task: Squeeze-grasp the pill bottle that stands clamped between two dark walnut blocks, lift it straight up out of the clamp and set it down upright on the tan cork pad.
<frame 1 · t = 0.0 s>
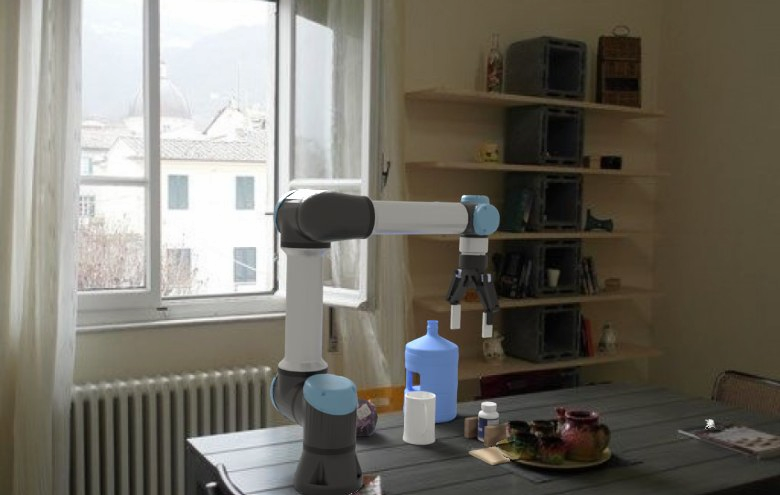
hand: (470, 332, 204), 28 cm above the table, fingers open, 13 cm apart
cork pad: (494, 456, 190), on the table
mug: (420, 442, 199), on the table
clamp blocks: (487, 439, 203), on the table
pill bottle: (487, 440, 203), on the table
water jug: (429, 416, 223), on the table
power adapter: (705, 431, 218), on the table
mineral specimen: (358, 434, 204), on the table
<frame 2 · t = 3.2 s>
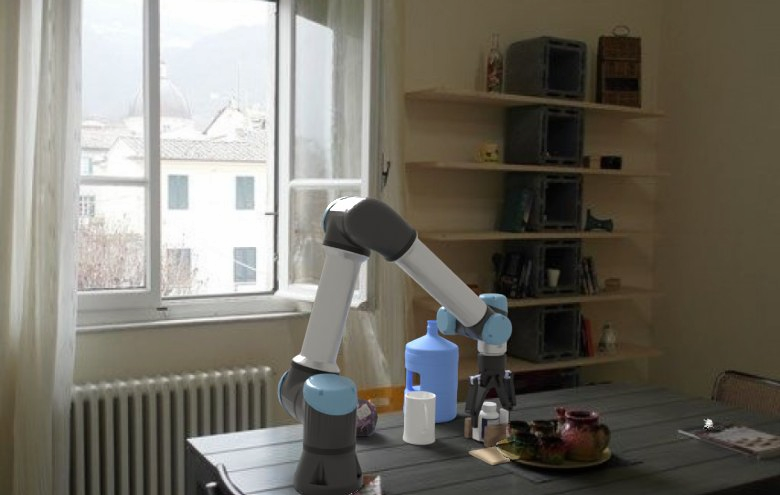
hand: (490, 436, 203), 1 cm above the table, fingers open, 8 cm apart
nothing on the table moved.
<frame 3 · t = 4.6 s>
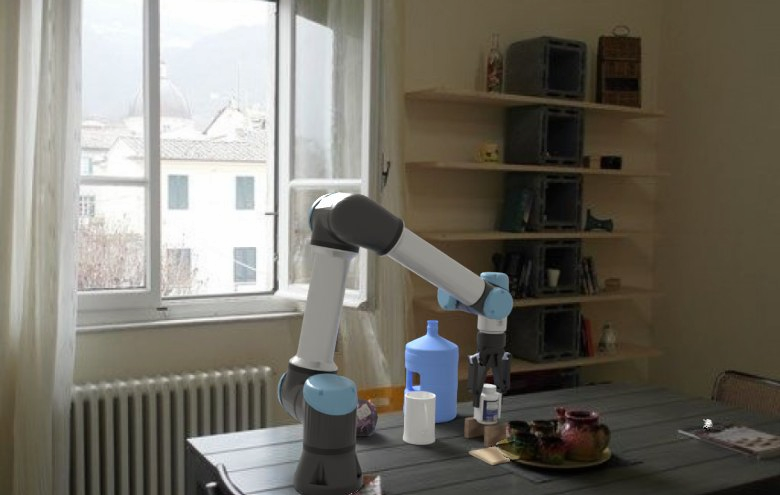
hand: (487, 417, 202), 6 cm above the table, fingers closed on pill bottle, 5 cm apart
pill bottle: (486, 422, 202), point 5 cm above the table, touching gripper
everything else where it was.
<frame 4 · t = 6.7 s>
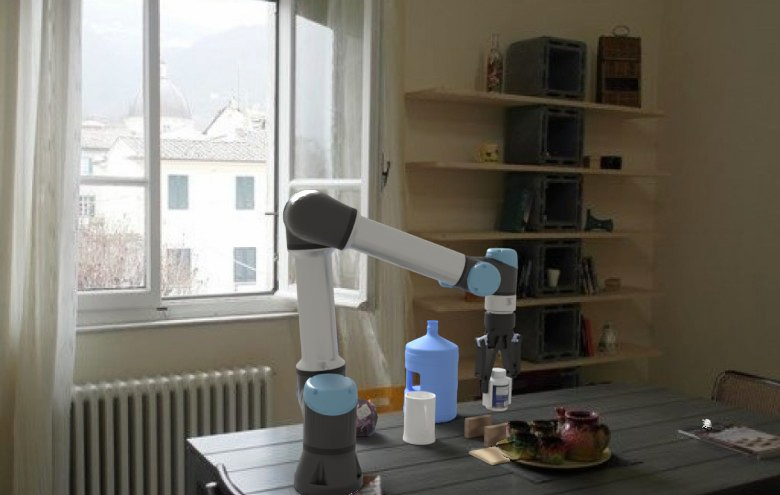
hand: (496, 404, 189), 13 cm above the table, fingers closed on pill bottle, 5 cm apart
pill bottle: (496, 409, 189), point 12 cm above the table, touching gripper
everything else where it was.
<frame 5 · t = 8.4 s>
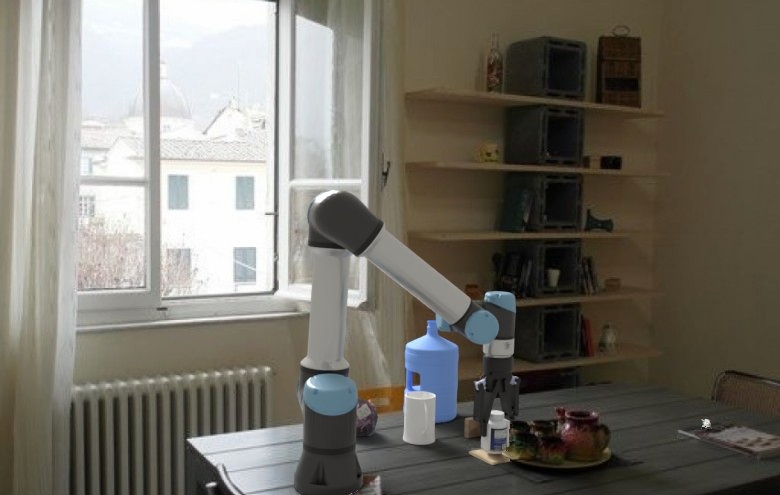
hand: (494, 446, 189), 2 cm above the table, fingers closed on pill bottle, 5 cm apart
pill bottle: (494, 451, 189), point 1 cm above the table, touching gripper
when the fingers open (2 cm above the table, at t = 9.3 s): pill bottle stays where it is, resting on cork pad.
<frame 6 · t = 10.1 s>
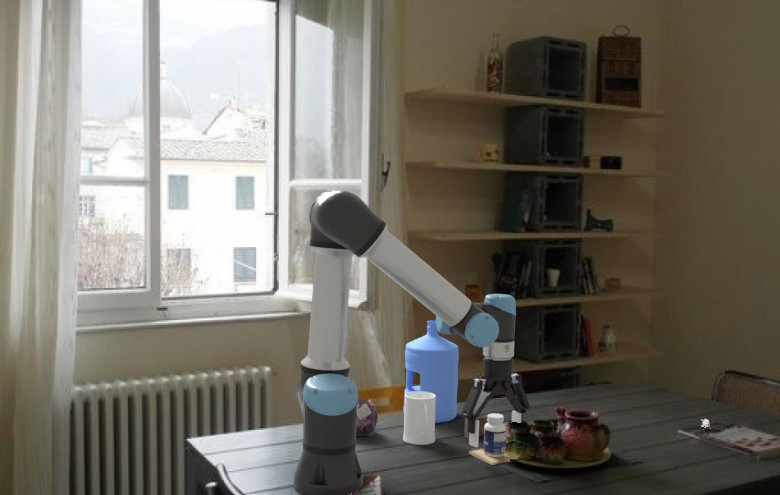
hand: (495, 441, 189), 4 cm above the table, fingers open, 13 cm apart
pill bottle: (494, 454, 190), resting on cork pad
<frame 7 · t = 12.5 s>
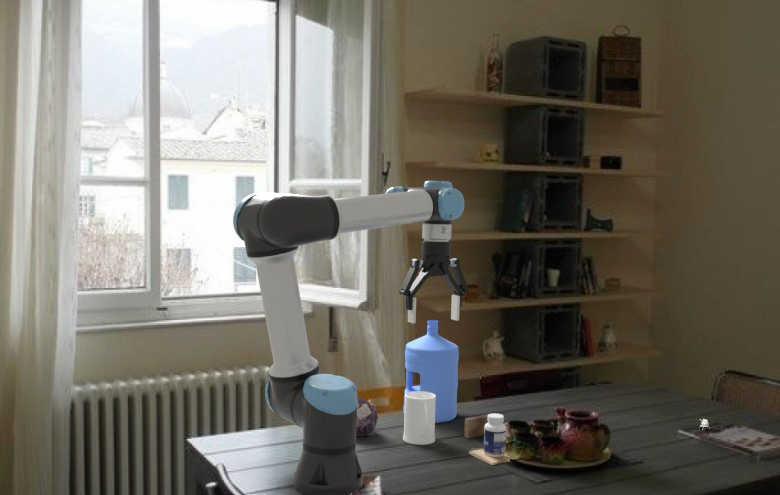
hand: (433, 321, 200), 31 cm above the table, fingers open, 13 cm apart
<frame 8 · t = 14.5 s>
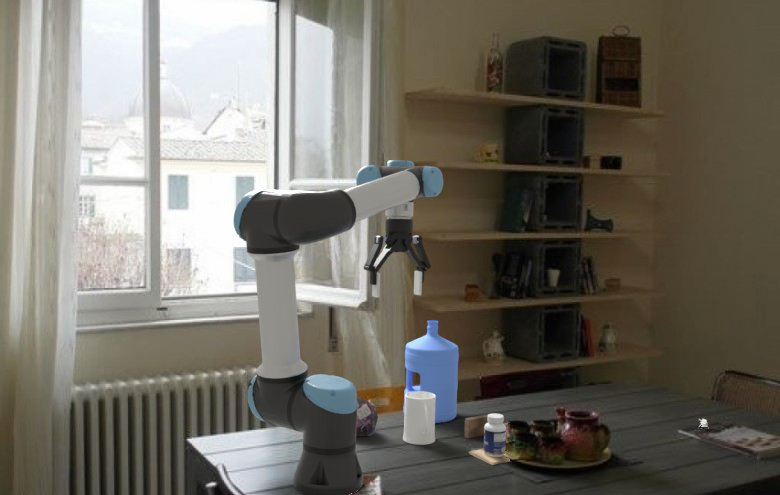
hand: (397, 295, 208), 37 cm above the table, fingers open, 13 cm apart
at the end: pill bottle inside the target area on the cork pad (0.1 cm from its centre), point 0.4 cm above the cork pad's base; pill bottle tilted 0°; the gripper is holding nothing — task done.
